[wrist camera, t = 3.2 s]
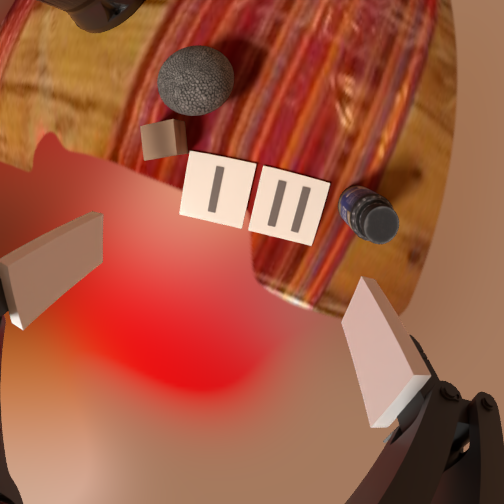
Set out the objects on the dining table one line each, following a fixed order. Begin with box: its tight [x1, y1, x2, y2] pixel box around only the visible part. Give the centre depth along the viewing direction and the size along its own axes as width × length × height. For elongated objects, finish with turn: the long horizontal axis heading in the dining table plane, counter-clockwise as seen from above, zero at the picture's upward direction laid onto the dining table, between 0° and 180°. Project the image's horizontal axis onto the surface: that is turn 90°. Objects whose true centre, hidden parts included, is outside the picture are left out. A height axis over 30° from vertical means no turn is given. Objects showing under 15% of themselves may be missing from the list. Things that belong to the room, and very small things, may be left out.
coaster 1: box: [179, 151, 257, 229], centre depth 40 cm, size 10×10×1 cm
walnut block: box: [140, 119, 188, 161], centre depth 36 cm, size 5×5×5 cm
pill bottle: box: [338, 186, 399, 244], centre depth 34 cm, size 6×6×11 cm
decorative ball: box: [157, 46, 234, 116], centre depth 30 cm, size 10×10×10 cm
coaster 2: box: [248, 165, 330, 246], centre depth 40 cm, size 10×10×1 cm
